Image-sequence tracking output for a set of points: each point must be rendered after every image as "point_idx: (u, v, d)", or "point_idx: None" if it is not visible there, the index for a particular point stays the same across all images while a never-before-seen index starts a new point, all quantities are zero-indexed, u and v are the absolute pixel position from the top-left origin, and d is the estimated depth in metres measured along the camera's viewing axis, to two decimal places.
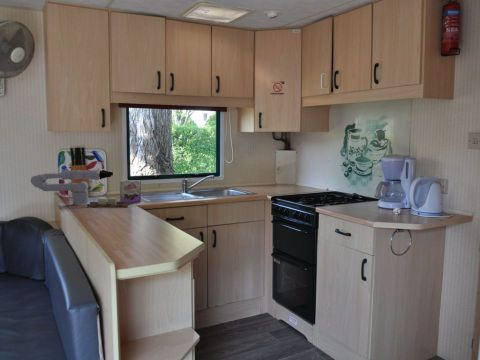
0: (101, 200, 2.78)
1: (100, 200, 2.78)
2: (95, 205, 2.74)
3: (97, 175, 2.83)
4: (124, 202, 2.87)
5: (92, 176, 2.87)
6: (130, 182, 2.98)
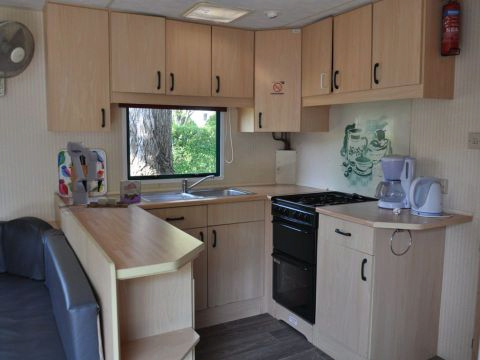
0: (101, 200, 2.78)
1: (100, 200, 2.78)
2: (95, 205, 2.74)
3: None
4: (124, 202, 2.87)
5: None
6: (130, 182, 2.97)
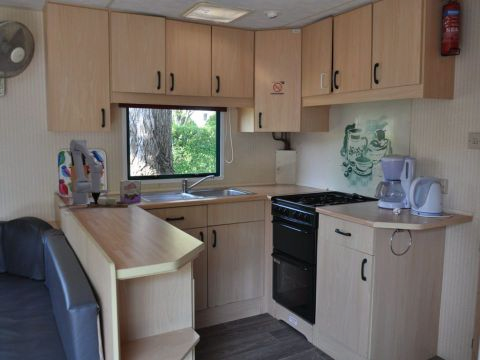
0: (101, 200, 2.78)
1: (100, 200, 2.78)
2: (95, 205, 2.74)
3: None
4: (124, 202, 2.87)
5: None
6: (130, 182, 2.98)
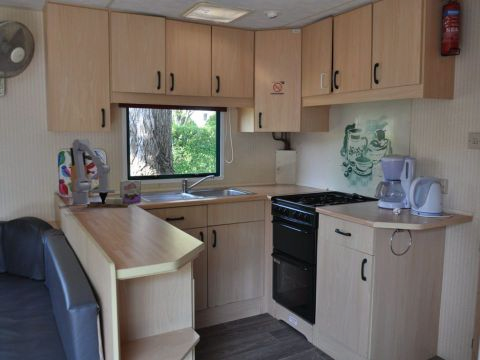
0: (109, 200, 2.79)
1: (108, 200, 2.78)
2: (95, 205, 2.74)
3: None
4: (124, 202, 2.87)
5: None
6: (130, 182, 2.98)
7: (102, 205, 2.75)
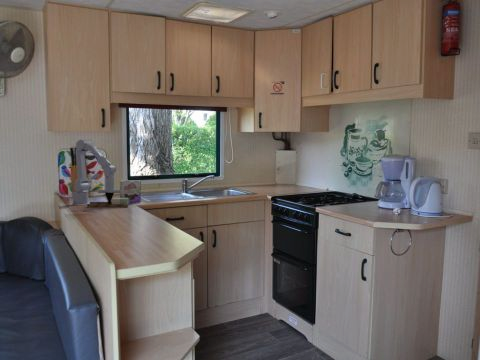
0: (115, 200, 2.79)
1: (114, 200, 2.79)
2: (95, 205, 2.74)
3: (98, 191, 2.79)
4: None
5: None
6: (130, 182, 2.98)
7: (102, 205, 2.75)
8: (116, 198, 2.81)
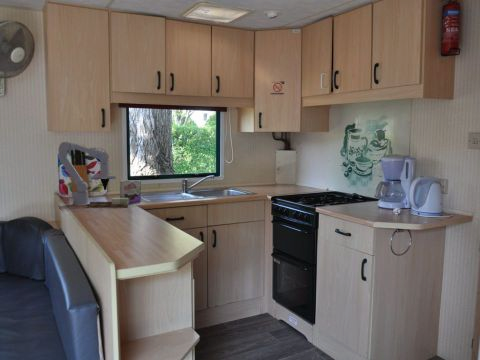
0: (115, 200, 2.79)
1: (114, 200, 2.79)
2: (95, 205, 2.74)
3: None
4: None
5: None
6: (130, 182, 2.98)
7: (102, 205, 2.75)
8: (116, 198, 2.81)
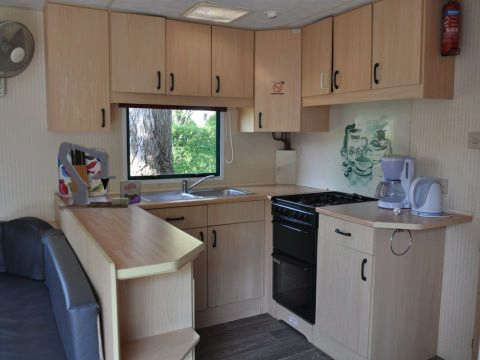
0: (115, 200, 2.79)
1: (114, 200, 2.79)
2: (95, 205, 2.74)
3: None
4: None
5: None
6: (130, 182, 2.98)
7: (102, 205, 2.75)
8: (116, 198, 2.81)
